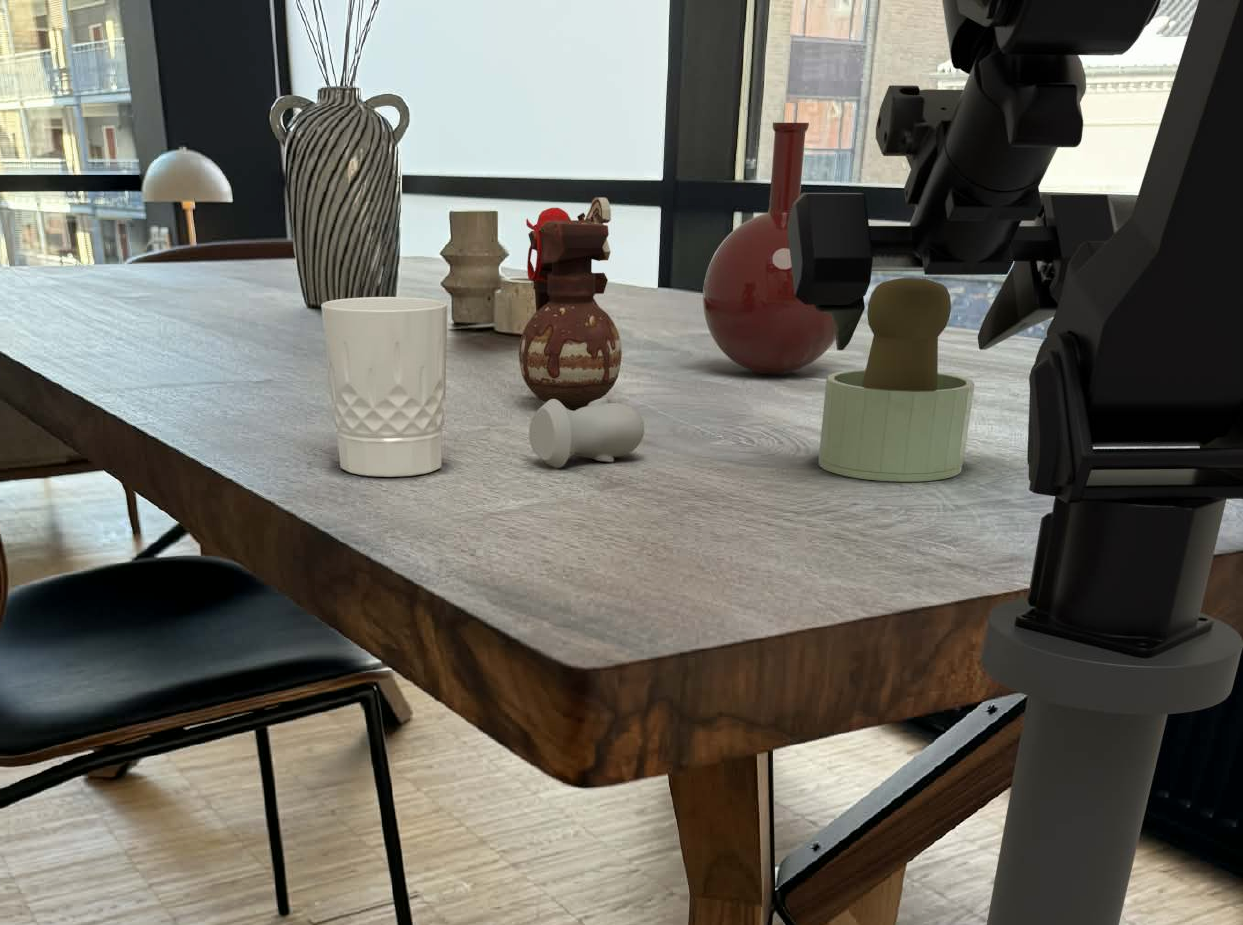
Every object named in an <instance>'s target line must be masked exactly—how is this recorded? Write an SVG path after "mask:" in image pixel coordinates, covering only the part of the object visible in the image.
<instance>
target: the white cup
mask: <svg viewBox="0 0 1243 925" xmlns="http://www.w3.org/2000/svg"><path fill="white" fill-rule="evenodd" d="M320 308H321V315H322V316H321V317H322V326H323V335H324V345H325V354H326V355H325V356H326V365H327V375H328V383H329V388H330V398H331V407H332V414H333V422H334V425H335V427H336V429H337V431H336V435H337V446H338V456H339V466H340V468H341V470H344V471H346V472H347V473H350V474H355V475H358V476H365V477H384V478H388V477H389V478H393V477H394V478H395V477H412V476H419V475H424V474H425V475H426V474H429V473H433V472H435V471H437V470H439V469H441V468H442V463H443V462H442V461H443V432H444V431H443V427H444V424H445V418H446V417H445V406H446V398H447V397H446V394H447V393H446V389H447V387H446V382H447V381H446V379H447V335H448V334H447V333H448V332H447V331H448V330H447V328H448V326H447V324H448V304H447V302H445V301H442V300H438V299H434V298H433V299H432V298H425V297H424V298H422V297H409V296H371V297H370V296H364V297H349V298H340V299H333V300H327V301H325V302H323V303H321V305H320Z"/></svg>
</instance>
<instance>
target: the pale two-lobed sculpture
mask: <svg viewBox="0 0 1243 925" xmlns="http://www.w3.org/2000/svg"><path fill="white" fill-rule="evenodd" d="M644 423H645V422H644V420H643V417H642V416H641V413H640V412H639V411H637V409H635V408H634V407H632V406H630V405H628V404H626V403H621V402H609V399H608V398H607V397H602V398H600V399H597V400H594V401H592V402H590V403H589V404H588V405H587V406H583V407H579V408H576V409H575V410H571V409H570V408H566V407H565V406H564V405H563V404H562V403H561V402H560V401H558V400H556V399H551V400H549V401H547V402H544V404H542V405H541V406H540V407H539V408H538V409H536V411H535V413H534V414H533V416H532V418H531V420H530V423H529V429H528V439H529V445H530V447H531V449H532V451H533V453H535V455H536V456H537V457H538V458H539V459H541V460H542V461H543V462H544V463H545V464H547V465H548V466H550V467H553V468H556V469H558V468H562V467H564V466H565V465H566V463H567V462H568V460H569V459H570V458H571V456H573V455H574V456H577V457H582V458H585V459H586V458H587V459H590V460H591V459H593V460H595V461H598V462H606V463H614V461H615V458H620V457H624V456H627V455H629V454H631V453H632V452H633V451H634V450H636V449H637V448H638V446H640V443H641V442H642V440H643V437H644V434H645V424H644Z"/></svg>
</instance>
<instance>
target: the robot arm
mask: <svg viewBox="0 0 1243 925" xmlns="http://www.w3.org/2000/svg"><path fill="white" fill-rule="evenodd" d="M1161 1H1162V0H941V3H942V9H943V15H944V20H945V28H946V34H947V42H948V47H949V54H950V61H951V64H952V67H953V68H954V69H955V70H960V71H962V72H964V73H965V74H967V75H968V77H967V80H966V82H965V84H964V87H963V89H939V88H938V89H933V88H931V89H930V88H929V89H920V86H918V85H902V84H901V85H898V84H897V85H888V87H887V90H886V92H885V95H884V97H883V100H882V102H881V104H880V106H879V111H878V115H877V116H878V117H877V121H876V124H875V125H876V126H875V140H876V142H877V145H878V147H879V150H880V152H881V154H882V156H883V157H905V158H906V160H907V163H908V165H909V167H910V171H909V174H908V177H907V179H906V182H905V184H904V186H903V191H904V198H905V203H906V205H908V206H909V205H911V206H914V212H913V215H912V217H911V220H910V223H909V225H870V223H869V214H868V207H867V206H868V205H867V200H866V193H862V192H802V193H800V196H799V197H798V199H797V200H796V201H795V202H794V203H793V205H792V209H791V212H790V216H789V219H788V223H787V229H788V239H789V248H790V257H791V266H792V275H793V284H794V293H795V297H796V298H797V299H799V300H800V301H801V302H802V303H804V304H805V305H814V307H815V308H816V309H817V310H818V311H820V312H830V313H831V315H832V317H833V320H834V323H835V336H836V340H835V344H836V350H837V351H844V350H845V349H846V348H847V347H848V345H849V344H850V342H851V340H852V338H853V336H854V334H855V331H856V329H857V327H858V325H859V322H860V320H861V318H862V316H863V314H864V311H865V308H866V305H865V296H866V295H867V292H868V291H869V287H870V285H871V281H872V280H871V279H872V272H923V274H924V276H1006V278H1005V280H1004V281H1003V283H1002V285H1001V287H1000V289H999V290H998V292H997V294H996V296H995V298H994V300H993V302H992V304H991V305H990V307H989V308H988V311H987V312H986V314H985V316H984V319H983V321H982V323H981V325H980V328H979V332H978V334H977V344H978V349H979V350H981V351H986V350H989V349H990V348H992V347H994V346H995V345H997V344H1000V343H1002V342H1003V341H1005V340H1007V339H1009V338H1011V337H1014V336H1015V335H1017V334H1019V333H1020V332H1023V331H1025V330H1027V329H1030V328H1031V327H1033V326H1036V325H1038V324H1040V323H1043V322H1045V321H1049V320H1050V319H1052V320H1051V321H1050V323H1049V326H1048V327H1047V330H1046V337H1045V338H1044V340H1042V343H1041V344H1040V346H1039V348H1038V351H1037V354H1036V357H1035V359H1034V361H1035V362H1034V364H1033V365H1032V367H1031V369H1030V373H1029V376H1028V377H1029V378H1028V384H1029V400H1028V401H1029V402H1028V403H1029V404H1028V427H1027V428H1028V429H1027V451H1026V452H1027V453H1026V455H1027V457H1026V460H1027V461H1026V462H1027V465H1028V473H1027V474H1028V481H1029V486H1028V487H1029V488H1028V491H1030V492H1031V493H1033V494H1037V495H1043V496H1048V497H1054V500H1053V505H1052V511H1051V512H1047V513H1046V514H1045V515H1044V516H1042V517H1041V518H1040V519H1041V520H1040V526H1039V531H1038V537H1037V542H1036V547H1035V554H1034V560H1033V565H1032V572H1031V576H1030V583H1029V589H1028V593H1027V596H1028V599H1027V600H1028V603H1029V605H1030V606H1033V607H1035V608H1033V609H1031V610H1028V611H1025V612H1023V613H1020V614H1018V615H1016V620H1015V626H1017V627H1019V628H1023V629H1027V630H1031V631H1035V632H1039V633H1043V634H1047V635H1051V636H1055V637H1059V638H1063V639H1066V640H1070V641H1074V642H1078V643H1082V644H1086V645H1090V646H1094V647H1098V648H1102V649H1106V650H1110V651H1114V652H1118V653H1122V654H1126V655H1130V656H1134V657H1138V658H1152V657H1154V656H1156V655H1159V654H1161V653H1163V652H1165V651H1167V650H1169V649H1172V648H1174V647H1176V646H1178V645H1180V644H1182V643H1185V642H1187V641H1189V640H1191V639H1193V638H1195V637H1198V636H1200V635H1202V634H1204V633H1206V632H1208V631H1210V630H1211V629H1212V625H1213V619H1211V618H1208V617H1204V616H1199V614H1200V613H1201V609H1202V606H1203V602H1204V597H1205V593H1206V588H1207V584H1208V580H1209V576H1210V571H1211V567H1212V564H1213V559H1214V554H1215V550H1216V545H1217V542H1218V537H1219V533H1220V528H1221V524H1222V520H1223V515H1224V512H1225V507H1226V503H1227V500H1243V0H1198V2H1197V4H1196V8H1195V12H1194V15H1193V16H1192V17H1193V18H1192V21H1191V24H1190V28H1189V31H1188V34H1187V37H1186V40H1185V43H1184V47H1183V50H1182V53H1181V56H1180V59H1179V63H1178V66H1177V69H1176V72H1175V76H1174V78H1173V82H1172V84H1171V89H1170V91H1169V95H1168V98H1167V101H1166V104H1165V107H1164V109H1163V110H1164V111H1163V114H1162V117H1161V120H1160V123H1159V126H1158V131H1157V134H1156V137H1155V138H1154V139H1155V140H1154V142H1153V146H1152V149H1151V152H1150V156H1149V158H1148V162H1147V164H1146V169H1145V172H1144V174H1143V178H1142V182H1141V185H1140V189H1139V190H1138V195H1137V197H1136V201H1135V203H1134V206H1133V209H1132V212H1131V214H1130V216H1129V217H1128V219H1127V220H1125V222H1124V223H1123V224H1122V225H1121V226H1120V227H1119V228H1118V225H1117V220H1116V213H1115V208H1114V204H1113V203H1112V201H1111V199H1110V197H1109V195H1108V194H1102V193H1042V194H1040V188H1039V187H1040V185H1041V183H1042V180H1044V177H1045V175H1046V173H1047V170H1048V169H1049V167H1050V164H1051V162H1052V160H1053V158H1054V156H1055V154H1056V152H1057V150H1058V149H1059V148H1077V147H1079V146H1080V144H1081V143H1082V139H1083V131H1084V117H1083V112H1082V111H1083V110H1082V106H1081V102H1082V100H1083V98H1084V96H1085V95H1086V91H1087V76H1086V73H1085V69H1084V66H1083V62H1082V60H1081V57H1080V56H1111V57H1112V56H1122V55H1124V54H1125V53H1127V52H1128V51H1129V50H1130V49H1131V48H1132V47H1133V46H1134V44H1135V43H1136V42H1137V41H1138V39H1140V36H1141V35H1142V33H1143V31H1144V29H1145V28H1146V27H1147V26H1148V25H1149V24H1150V23H1151V22H1152V20H1154V18H1155V16H1156V14H1157V12H1158V9H1159V7H1160V4H1161ZM1131 447H1132V448H1131ZM1150 447H1151V448H1150ZM1157 447H1158V448H1157Z"/></svg>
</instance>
